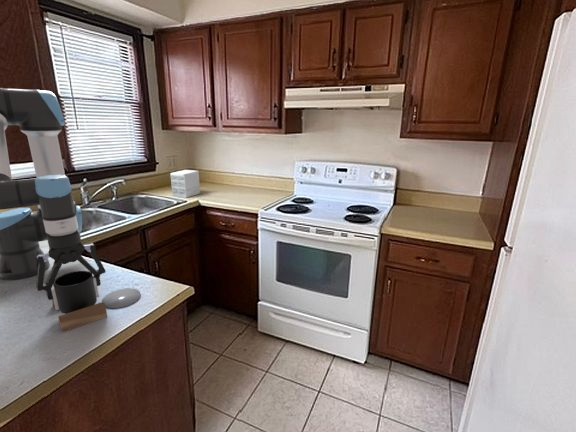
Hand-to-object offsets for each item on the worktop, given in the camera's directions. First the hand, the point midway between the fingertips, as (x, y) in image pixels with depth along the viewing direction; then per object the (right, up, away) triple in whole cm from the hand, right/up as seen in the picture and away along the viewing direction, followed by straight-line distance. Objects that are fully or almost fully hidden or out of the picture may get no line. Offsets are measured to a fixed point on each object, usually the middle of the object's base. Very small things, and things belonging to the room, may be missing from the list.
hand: (77, 301), depth 94 cm
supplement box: (-15, +42, +148) cm, 154 cm away
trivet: (+10, -1, +7) cm, 12 cm away
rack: (0, -3, 0) cm, 3 cm away
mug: (0, -1, 0) cm, 1 cm away
